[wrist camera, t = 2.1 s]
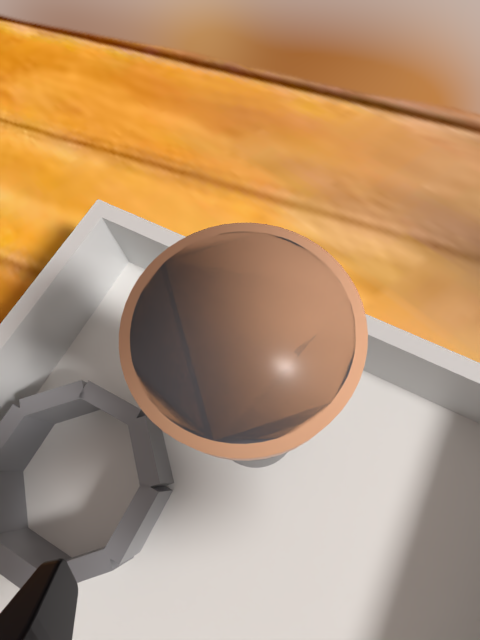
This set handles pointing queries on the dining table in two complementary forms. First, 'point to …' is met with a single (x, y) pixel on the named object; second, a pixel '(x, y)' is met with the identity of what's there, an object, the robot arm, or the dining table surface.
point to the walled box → (230, 481)
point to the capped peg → (243, 341)
